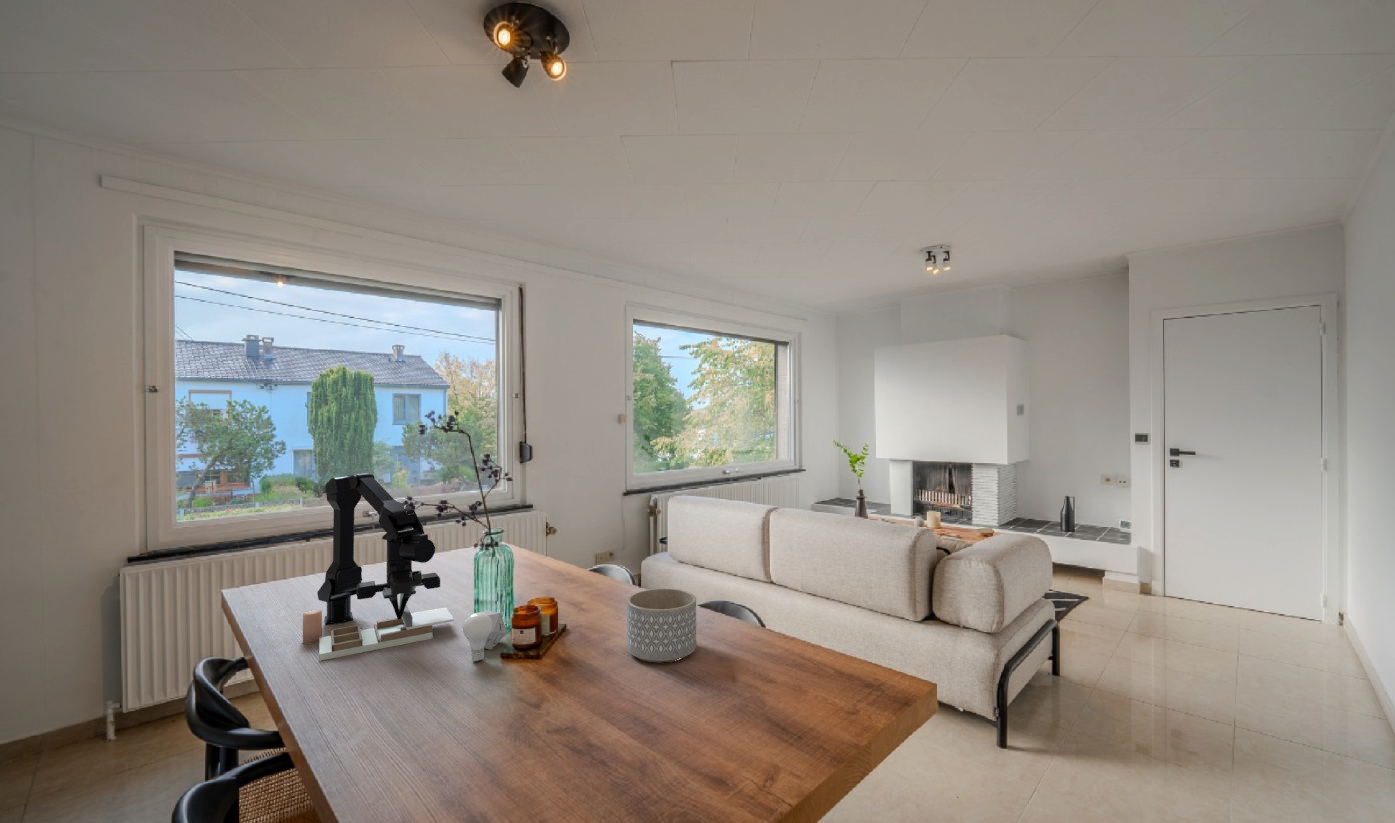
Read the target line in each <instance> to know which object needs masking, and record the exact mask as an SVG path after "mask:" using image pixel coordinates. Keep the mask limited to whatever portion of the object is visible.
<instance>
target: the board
mask: <svg viewBox="0 0 1395 823" xmlns="http://www.w3.org/2000/svg"><path fill="white" fill-rule="evenodd" d="M431 639H434V638H433V625H431V626H425V627H420V628H415V629H409V630H407V629H406V627H405V624H404V622H403V619H402V618H401V619H399V620H398V619H397V617H395V618H390V619H383V620H377V621H376V624H374V625H373V627H371V628H366V629H361V624H356V625H349V626H345V627H339V628H333V629H330V635H327V636H322V637H320V638H319V641H318V642H319V644H318V646H319V647H318V648H319V649H318V650H319V653H318V654H319V656H318V657H319V660H318V661H320V662H321V661H326V660H330V659H331V660H332V659H336V658H341V657H345V656H346V657H347V656H351V655H356V654H361V653H366V652H370V651H376V650H380V649H386V648H391V647H396V646H401V645H406V644H411V643H412V644H413V643H416V642H422V641H427V640H431Z"/></svg>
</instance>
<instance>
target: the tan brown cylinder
mask: <svg viewBox="0 0 1395 823" xmlns="http://www.w3.org/2000/svg"><path fill="white" fill-rule="evenodd" d="M320 637H323V611H322V610H321V609H315V610H309V611H306V612H304V613H302V643H303V644H307V645H308V644H309V645H310V644H314V643H315V644H316V643H318V642H319V638H320Z"/></svg>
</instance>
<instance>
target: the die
mask: <svg viewBox="0 0 1395 823" xmlns="http://www.w3.org/2000/svg"><path fill="white" fill-rule="evenodd" d="M480 612H481V613H485V614H487V615H488V616H489V617H490V618H491V620H492V624H493V626H492V631H491V633H490V635H489V636H488V638H487V640H486V644H485V647H484V650H490V651H491V650H493V649H494V647H495V646H497V644H498V643H499V642H501V640H502V639H503V638H504V637H505V636H507V634H508V633H509V632H508V630H507V627H506V624H505V622H504V619H503V617H502V614H501V612H497V611H492V610H485V609H483V611H480Z"/></svg>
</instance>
